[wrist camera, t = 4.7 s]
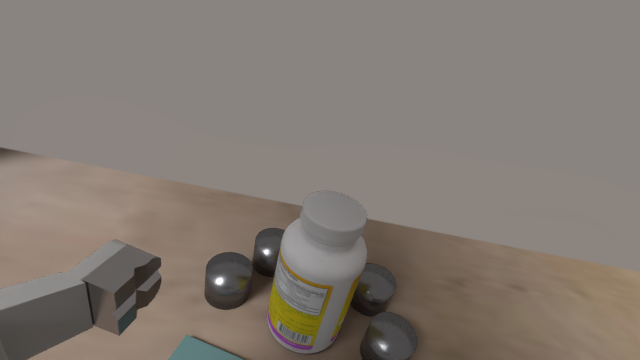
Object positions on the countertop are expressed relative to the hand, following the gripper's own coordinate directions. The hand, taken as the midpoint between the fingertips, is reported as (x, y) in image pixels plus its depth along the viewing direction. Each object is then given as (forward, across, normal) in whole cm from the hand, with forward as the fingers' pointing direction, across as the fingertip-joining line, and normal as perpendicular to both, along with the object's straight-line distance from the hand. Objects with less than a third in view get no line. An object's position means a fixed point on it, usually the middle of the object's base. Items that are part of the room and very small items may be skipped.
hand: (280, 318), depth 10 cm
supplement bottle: (+14, 0, -18) cm, 22 cm away
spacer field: (+17, 0, -17) cm, 25 cm away
